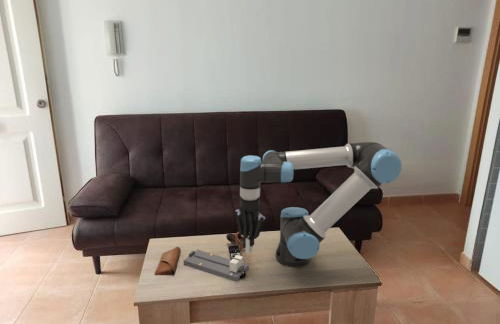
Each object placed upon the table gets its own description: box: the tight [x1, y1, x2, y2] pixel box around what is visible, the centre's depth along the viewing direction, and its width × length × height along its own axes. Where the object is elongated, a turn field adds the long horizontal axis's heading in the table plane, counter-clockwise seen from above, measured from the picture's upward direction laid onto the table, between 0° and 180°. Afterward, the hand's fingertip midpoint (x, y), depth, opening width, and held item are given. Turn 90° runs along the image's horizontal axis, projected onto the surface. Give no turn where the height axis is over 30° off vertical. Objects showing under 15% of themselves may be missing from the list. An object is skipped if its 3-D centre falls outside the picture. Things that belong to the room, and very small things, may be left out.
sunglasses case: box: [154, 246, 182, 276], centre depth 157 cm, size 18×7×7 cm
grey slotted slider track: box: [183, 249, 250, 283], centre depth 155 cm, size 26×10×3 cm, turn 63°
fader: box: [230, 254, 244, 272], centre depth 149 cm, size 3×6×4 cm, turn 153°
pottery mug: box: [225, 231, 249, 251], centre depth 171 cm, size 12×10×8 cm
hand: (248, 252), depth 145 cm, fingers closed
